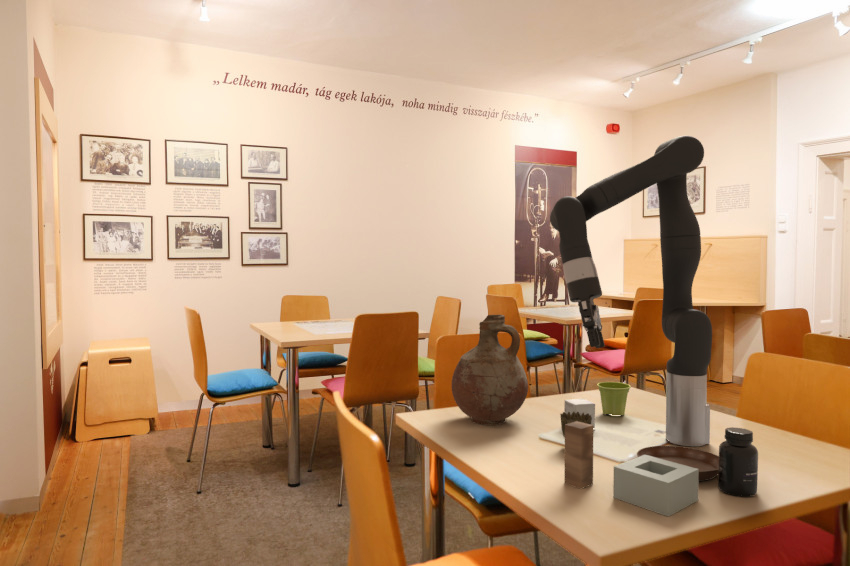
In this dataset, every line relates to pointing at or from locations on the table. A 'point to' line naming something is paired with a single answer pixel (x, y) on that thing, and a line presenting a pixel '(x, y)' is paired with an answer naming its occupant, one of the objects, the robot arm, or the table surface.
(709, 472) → the plant saucer
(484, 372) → the jug
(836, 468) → the table surface
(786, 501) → the table surface
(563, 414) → the cup
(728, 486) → the supplement bottle
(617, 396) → the plant pot
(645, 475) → the socket block
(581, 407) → the product box
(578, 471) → the brown wooden bar
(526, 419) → the table surface
